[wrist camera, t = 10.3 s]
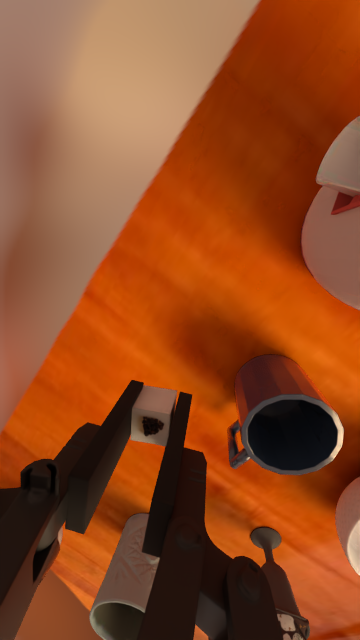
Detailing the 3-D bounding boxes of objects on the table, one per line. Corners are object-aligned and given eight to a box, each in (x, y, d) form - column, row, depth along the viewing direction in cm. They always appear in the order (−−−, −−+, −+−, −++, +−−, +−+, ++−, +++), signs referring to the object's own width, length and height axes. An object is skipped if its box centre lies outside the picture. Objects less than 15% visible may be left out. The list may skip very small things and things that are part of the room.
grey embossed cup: (130, 549, 45) (102, 649, 34) (114, 510, 43) (77, 601, 32) (180, 548, 43) (168, 653, 32) (166, 506, 41) (147, 603, 30)
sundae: (240, 543, 41) (254, 698, 27) (253, 518, 39) (276, 669, 25) (277, 557, 41) (311, 721, 26) (292, 531, 39) (338, 694, 24)
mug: (269, 340, 31) (293, 375, 22) (322, 386, 31) (366, 438, 22) (203, 401, 35) (199, 453, 26) (251, 441, 35) (264, 506, 26)
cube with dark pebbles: (143, 385, 15) (130, 410, 12) (177, 390, 14) (170, 416, 12) (142, 414, 15) (128, 443, 13) (174, 419, 15) (167, 450, 13)
